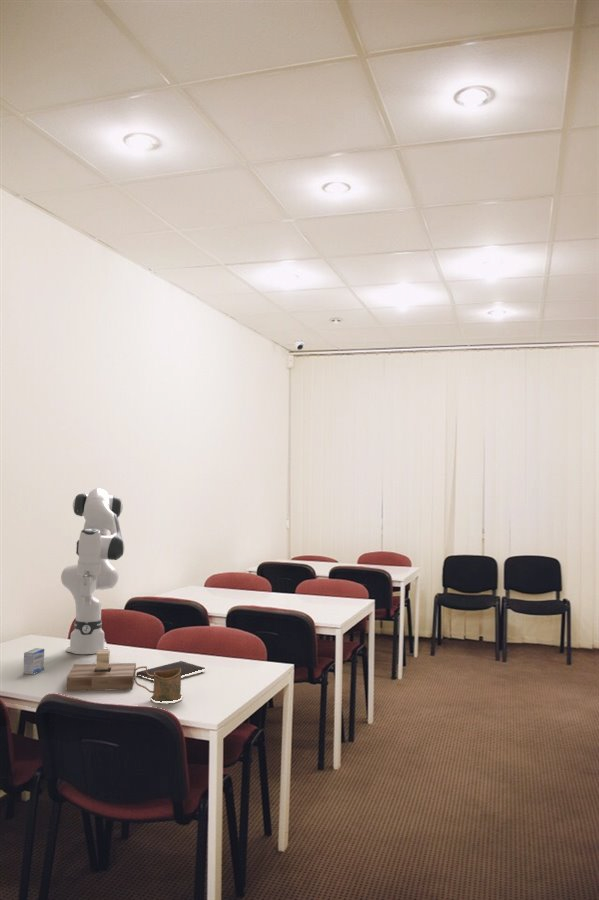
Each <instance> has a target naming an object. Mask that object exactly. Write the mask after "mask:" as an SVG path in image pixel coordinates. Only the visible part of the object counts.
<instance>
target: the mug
mask: <svg viewBox="0 0 599 900" xmlns="http://www.w3.org/2000/svg"><path fill="white" fill-rule="evenodd" d="M139 669H145V670H146V673H147V675H148V676H151V677H154V681H153V690H150V689H149V688H148V687H146V686H145V685H142V684H141V683H140V684H139V682H137V680H136V673H137V672H136V671H138V670H139ZM147 669H148V667H147V666H146V665H145V666H138V667H136V669H135V671H134V684H136V685H137V686H138V687H141V688H143V689H145V690H146V691H147V692H149V693H151V694H152V696H151V697H150V699H151V698H152V699H153V700H155V701H160V702H162V701H173V700H178V699H180V698H181V696H183V695H182V694H181V692H182V691H181V690H182V688H181V687H182V681H181V680H182V679H181V668H179V669H173V670H168V671H155V672H154V675H150V674H148V672H147ZM135 672H136V673H135Z"/></svg>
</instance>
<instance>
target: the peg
mask: <svg viewBox="0 0 599 900" xmlns="http://www.w3.org/2000/svg"><path fill="white" fill-rule="evenodd" d="M110 652H111V650H110V649H109V650H98V652H97V653H96V661H95V664H96V672H108V670H109V664H110Z"/></svg>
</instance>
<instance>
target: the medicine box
mask: <svg viewBox="0 0 599 900" xmlns="http://www.w3.org/2000/svg"><path fill="white" fill-rule="evenodd" d="M44 668H45V648H41V647H40V648H39V647H34V648H33V649H31V650H28V651H26V652H24V653H23V672H22V673H23V674H24V673H27V674H26V675H31V674H33V675H35V674H34V673H36V672H38V673H39V672H41V670H42V671H44ZM36 674H37V673H36Z"/></svg>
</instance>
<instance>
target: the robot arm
mask: <svg viewBox="0 0 599 900" xmlns="http://www.w3.org/2000/svg"><path fill="white" fill-rule="evenodd" d="M123 506H124V505H123V501H122V499H121V497H119V496H117V495H109V493H108V491H106V490H105V489H103V488H94V489H92V490H90V492H89V493H84V492H83V493H80V494H77V495H76V496H75V498H74V499H73V502H72V510H73V513H74V514H75V515H76V516H77V517H84V520H85V522H84V525H83V529H82V530H80V533H79V539H78V540H77V541H76V547H75V548H76V549H75V550H76V551H75V553H76V555H77V556H78V560H77V564H73V565H68V566H65V567H64V569H62V571H61V575H60V581H61V583H62V585H63V586H64V587H65V588H66V589H67V590H68V591H69V592H70V593H71V595H72V596H73V599H74V604H75V620H74V626H73V627H74V629H73V630H72V632H71V633H70V639H69V640H70V641H69V646H68V647H66V648H65V652H68V653H72V654H75V655H92V654H93V655H94V654H97V652H98V650H110V648H109V646H108V643H107V641H106V639H105V632H104V630H103V627H102V626H103V625H102V624H103V619H102V603H101V600H100V599H99V598H97V597H95V596H94V595H93V593H94V592H95V591H96V590H101V591H103V590H109V589H113V588H114V587H116V585H117V583H118V581H119V573H118V570H117V569H116V567H114V566H113V565H112V564H111V563H110V560H111V561H118V560H119V559H120V558H122V557H123V555H124V553H125V542H124V540H123V536H122V532H121V526H120V522H119V517H120V515H121V513H122V512H123V508H124V507H123ZM108 531H109V533H110V535H108Z"/></svg>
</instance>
